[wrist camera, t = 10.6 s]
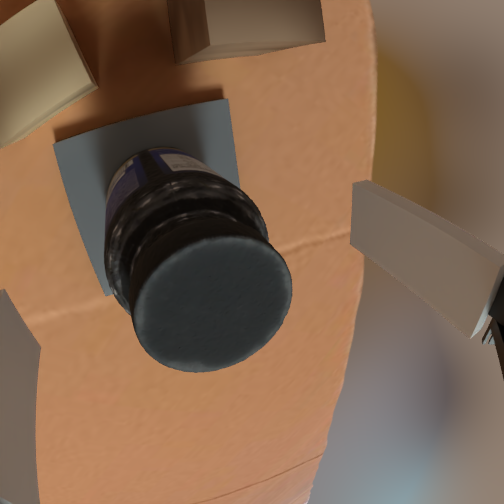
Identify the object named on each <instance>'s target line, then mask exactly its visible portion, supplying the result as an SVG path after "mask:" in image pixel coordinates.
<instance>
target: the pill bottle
mask: <svg viewBox="0 0 504 504" xmlns="http://www.w3.org/2000/svg"><path fill="white" fill-rule="evenodd" d="M104 265H105V273H106V277H107V280H108V282H109V287H110V289H111V290H112V292H113V294H114V296H115V298H116V299H117V301H118V302H119V304H120V305H121V306H122V307H123V308H124V309H125V311H126V312H127V313H128V314H129V315H131V318H132V322H133V326H134V330H135V333H136V335H137V338H138V340H139V342H140V344H141V346H142V347H143V348H144V349H145V351H146V352H147V353H148V354H149V355H150V356H151V357H152V358H154V359H155V360H157V361H158V362H159V363H161V364H163V365H165V366H167V367H169V368H173V369H176V370H181V371H184V372H195V373H197V372H210V371H216V370H219V369H222V368H226V367H229V366H232V365H235V364H237V363H239V362H241V361H244V360H245V359H247V358H248V357H249V356H251V355H253V354H254V353H256V352H257V351H258V350H259V349H261V348H262V347H263V346H264V345H266V343H267V342H268V341H269V340H270V339H271V338H272V337H273V336H274V335H275V333H276V332H277V331H278V330H279V328H280V326H281V325H282V324H283V320H284V318H285V316H286V315H287V313H288V310H289V308H290V303H291V297H292V279H291V275H290V271H289V269H288V267H287V265H286V262H285V261H284V259H283V258H282V256H281V255H280V254H279V253H278V252H277V251H276V250H275V249H274V248H273V246H272V245H271V244H270V243H269V238H268V232H267V228H266V224H265V222H264V219H263V218H262V216H261V213H260V211H259V210H258V207H257V206H256V205H255V203H254V202H253V201H252V200H251V199H250V198H249V197H248V195H246V194H245V193H244V192H243V191H242V190H241V189H239V188H238V187H237V186H235V185H234V184H232V183H231V182H229V181H228V180H226V179H225V178H224V177H222V176H221V175H219V174H218V173H216V172H215V171H214V170H212V169H211V168H209V167H208V166H207V165H205V164H204V163H202V162H201V161H199V160H198V159H196V158H195V157H193V156H192V155H190V154H188V153H186V152H184V151H182V150H180V149H178V148H175V147H154V148H151V149H146V150H143V151H141V152H138V153H136V154H134V155H132V156H131V157H129V158H128V159H127V160H126V161H125V162H124V163H122V165H121V166H120V167H119V168H118V169H117V170H116V172H115V174H114V176H113V178H112V180H111V182H110V185H109V188H108V191H107V198H106V213H105V240H104Z"/></svg>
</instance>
